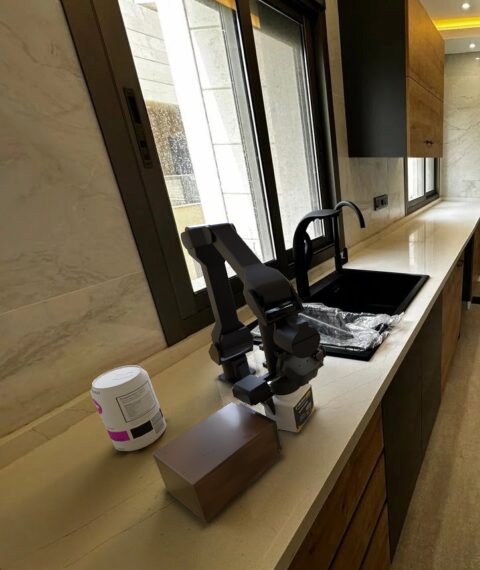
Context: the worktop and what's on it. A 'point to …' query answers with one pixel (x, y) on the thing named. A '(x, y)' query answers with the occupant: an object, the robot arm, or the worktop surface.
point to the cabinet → (217, 459)
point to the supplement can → (128, 407)
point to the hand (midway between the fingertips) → (289, 402)
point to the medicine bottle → (291, 404)
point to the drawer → (267, 420)
